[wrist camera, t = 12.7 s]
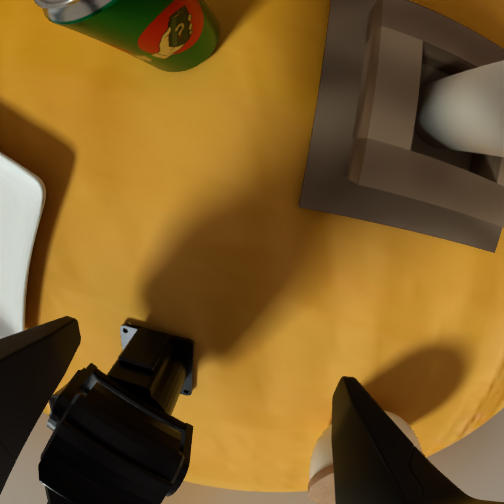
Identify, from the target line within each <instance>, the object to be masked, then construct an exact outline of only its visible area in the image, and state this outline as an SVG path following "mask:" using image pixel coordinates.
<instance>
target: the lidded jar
mask: <svg viewBox="0 0 504 504" xmlns="http://www.w3.org/2000/svg"><path fill="white" fill-rule="evenodd" d="M384 411H385V410H384ZM385 412H386V414H387V415H388V416H389V417H390V418H391V419H392V420H393V421H394V423H395V424H396V425H397V426H398V427H399V428H400V429H401V430H402V432H403V433H404V434H405V435H406V436H407V437H408V438H409V439H410V441H411V442H412V443H413V444H414V446H416V447H417V448H418V450H419V451H420V452H421V453H422V454H423V452H422V449H421V446H420V443H419V441H418V438H417V436H416V435H415V433H414V431H413V430H412V428H411V427H410V425H409V424H408V423H407V422H406V421H405V420H404V419H402V418H401V417H399V416H398V415H396V414H394V413H391V412H389V411H385ZM331 431H332V424H331V425H330V426H329V427H328V428H327V429H326V430H325V431H324V432H323V433H322V434H321V436H320V437H319V439H318V440H317V442H316V445H315V447H314V449H313V452H312V456H311V462H310V469H309V484H308V496H309V497H310V499H311V500H312V501H314V502H315V503H317V504H335V486H334V470H333V456H332V443H331ZM423 455H424V454H423ZM424 456H425V455H424Z"/></svg>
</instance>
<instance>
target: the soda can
mask: <svg viewBox="0 0 504 504" xmlns="http://www.w3.org/2000/svg"><path fill="white" fill-rule="evenodd" d="M34 1H35V3H36V4H37V5H38V6H39V7H41V8H42V9H43V12H44V14H45V16H46V17H47V18H48V19H49V20H50V21H51V22H53V23H55V24H58V25H61V26H64V27H66V28H69V29H71V30H74V31H77V32H79V33H82V34H84V35H87V36H89V37H92V38H94V39H96V40H99V41H101V42H103V43H106V44H108V45H110V46H112V47H115V48H117V49H119V50H121V51H123V52H126V53H128V54H130V55H132V56H134V57H136V58H138V59H140V60H142V61H144V62H146V63H148V64H150V65H152V66H154V67H156V68H158V69H161V70H163V71H167V72H181V71H185V70H188V69H191V68H193V67H195V66H197V65H199V64H200V63H202V62H203V61H204V60H206V59H207V58H208V57H209V55H210V54H211V53H212V52H213V50H214V49H215V47H216V45H217V42H218V39H219V25H218V22H217V20H216V18H215V16H214V15H213V13H212V12H211V10H210V8H209V7H208V5H207V3H206V2H205V0H34Z"/></svg>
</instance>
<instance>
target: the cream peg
mask: <svg viewBox="0 0 504 504" xmlns="http://www.w3.org/2000/svg"><path fill="white" fill-rule="evenodd" d="M414 129H415V131H416V133H417V134H418V135H419V137H420V138H421V139H422V140H423V141H424V142H425V143H427V144H428V145H430V146H432V147H435V148H439V149H448V150H457V151H465V152H473V153H480V154H487V155H493V156H499V157H504V60H503V61H499V62H495V63H491V64H488V65H484V66H481V67H477V68H474V69H470V70H467V71H464V72H461V73H457V74H454V75H451V76H448V77H445V78H442V79H439V80H436V81H433V82H430V83H427V84H424V85H422V86H420V87H419V95H418V104H417V111H416V118H415V125H414Z"/></svg>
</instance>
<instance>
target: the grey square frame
mask: <svg viewBox="0 0 504 504" xmlns="http://www.w3.org/2000/svg"><path fill="white" fill-rule="evenodd" d="M503 60H504V49H503V48H501V47H499V46H498V45H496V44H495V43H493V42H492V41H490V40H488V39H487V38H485V37H483V36H482V35H480V34H478V33H476V32H475V31H473V30H471V29H469V28H467V27H465V26H464V25H462V24H460V23H458V22H456V21H454V20H452V19H450V18H448V17H446V16H444V15H441V14H439V13H437V12H435V11H433V10H430V9H428V8H426V7H423V6H421V5H418V4H416V3H413V2H411V1H408V0H331V3H330V11H329V19H328V27H327V35H326V42H325V50H324V57H323V64H322V71H321V78H320V84H319V91H318V97H317V104H316V110H315V116H314V122H313V128H312V134H311V140H310V146H309V152H308V158H307V163H306V169H305V174H304V180H303V185H302V191H301V196H300V201H299V207H301V208H306V209H311V210H317V211H322V212H327V213H332V214H337V215H342V216H347V217H351V218H356V219H361V220H365V221H370V222H375V223H379V224H384V225H388V226H392V227H397V228H401V229H405V230H410V231H414V232H418V233H422V234H426V235H430V236H434V237H438V238H442V239H446V240H450V241H454V242H457V243H461V244H465V245H469V246H472V247H476V248H479V249H483V250H487V251H490V252H494V253H495V250H496V247H497V244H498V241H499V237H500V234H501V230H502V227H504V157H499V156H493V155H487V154H480V153H473V152H465V151H457V150H448V149H439V148H435V147H432V146H430V145H428V144H427V143H425V142H424V141H423V140H422V139H421V138H420V137H419V135H418V134H417V133H416V131H415V129H414V125H415V118H416V111H417V104H418V95H419V87H420V86H422V85H424V84H427V83H430V82H433V81H436V80H439V79H442V78H445V77H448V76H451V75H454V74H457V73H461V72H464V71H467V70H470V69H474V68H477V67H481V66H484V65H488V64H491V63H495V62H499V61H503Z"/></svg>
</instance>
